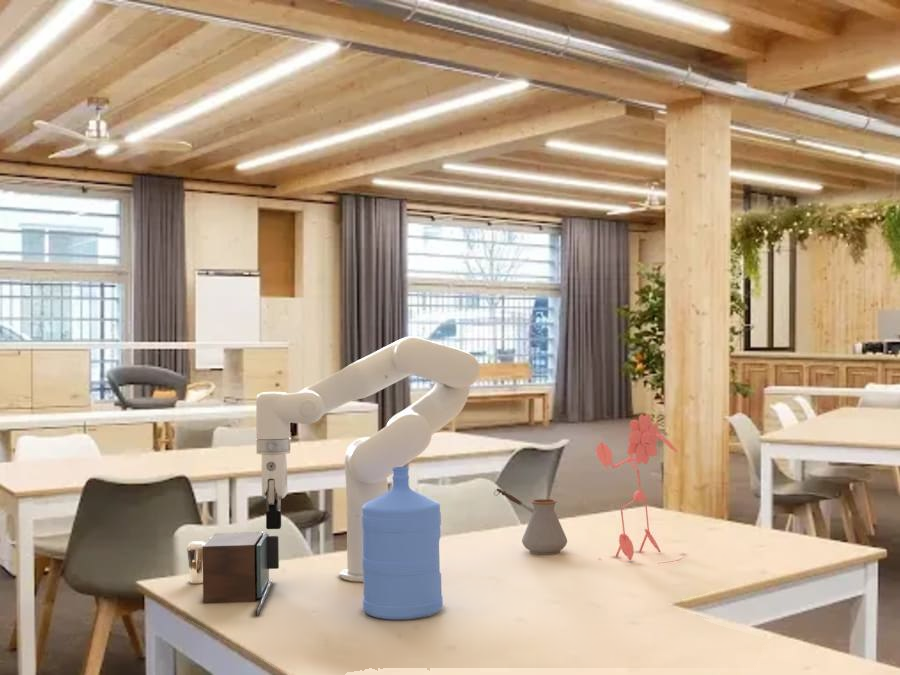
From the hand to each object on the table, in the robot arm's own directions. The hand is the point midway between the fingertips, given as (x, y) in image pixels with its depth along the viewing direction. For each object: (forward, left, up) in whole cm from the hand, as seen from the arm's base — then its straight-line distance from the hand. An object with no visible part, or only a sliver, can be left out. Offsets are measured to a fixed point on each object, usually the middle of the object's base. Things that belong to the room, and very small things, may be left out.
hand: (273, 528), depth 222 cm
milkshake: (+17, -2, -12) cm, 21 cm away
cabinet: (+7, +16, -12) cm, 21 cm away
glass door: (0, +10, -11) cm, 15 cm away
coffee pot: (-62, -27, -12) cm, 69 cm away
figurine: (-89, -11, -12) cm, 91 cm away
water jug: (-28, +30, -12) cm, 43 cm away
